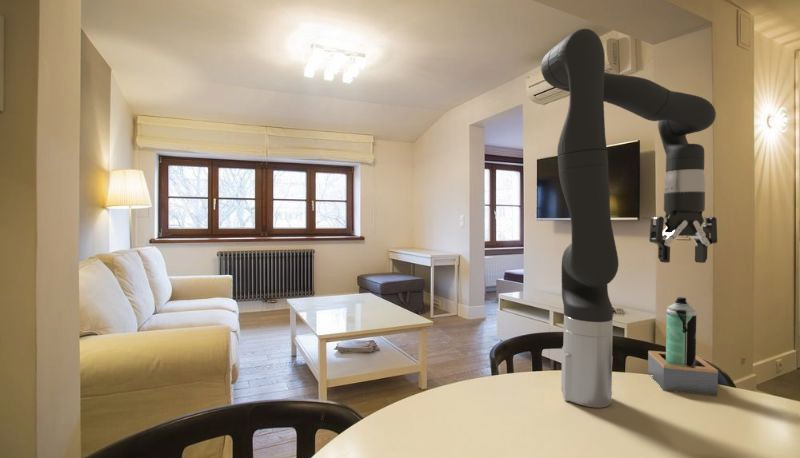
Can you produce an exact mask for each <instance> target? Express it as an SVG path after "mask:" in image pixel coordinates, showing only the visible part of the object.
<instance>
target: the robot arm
mask: <svg viewBox="0 0 800 458" xmlns="http://www.w3.org/2000/svg"><path fill="white" fill-rule="evenodd" d="M605 58H606V57H605V49H604V45H603V43H602V40H601V38H600V37H599V35H598V34H597V33H596V32H595V31H594V30H592V29H590V28H580V29H578V30H576V31H573V32H572V33H570V34H569V35H568V36H566V37H565V38H564V39H563V40H561V41H560V42H558V43H557V44H556V45H555V46H553V47H552V48H551V49H550V50H549V51H548V52H547V53H546V54H544V57H542V61H541V65H540V67H541V68H540V69H541V71H540V72H541V75H542V76H543V79H544V80H545V82H546V83H547V84H549V85H550V86H552V87H553V88H556V89H558V90H561V91H565V92H568V93H569V103H568V109H567V113H566V117H565V120H564V124H563V126H562V129H561V132H560V136H559V138H558V139H559V140H558V143H557V150H556V151H557V165H558V167H557V168H558V174H559V175H558V176H559V182H560V187H561V191H562V193H563V196H564V199H565V203H566V205H567V209H568V212H569V217H570V223H571V224H570V226H571V243H570V244H569V245H568V246H567V247H566V248H565V250H564V251H563V254H562V258H561V299H562V304H563V342H562V344H563V346H561V377H560V378H561V382H560V383H561V385H560V388H561V392H562V395H563V398H564V401H565V402H567V401H568V402H571V403H574V404H577V405H580V406H583V407H589V408H599V409H600V408H607V407H608V406H610V405H611V404H612V395H613V390H612V389H613V388H612V387H613V386H612V385H613V327H614V325H613V320H614V319H613V317H614V316H613V315H614V308H613V305H612V302H611V299H610V297H609V292H608V288H609V287H608V284H609V283H611V282H612V281H613V280H614V278H616V275H617V273H618V271H619V256H618V250H617V245H616V241H615V235H614V230H613V226H612V219H611V202H610V201H611V200H610V199H611V198H610V195H611V194H610V181H609V179H610V177H609V160H608V147H607V139H606V127H605V124H606V123H605V105H604V102H605V103H608V104H611V105H613V106H616V107H619V108H621V109H623V110H624V111H628V112H631V114H634V115H635V116H638V117H640V118H642V119H645V120H647V121H651V122H657V123H658V124H657V127H658V129H657V130H658V133H659V136H660V140H661V143H662V147H663V149H664V152H665V177H664V184H663V211H664V213H665V216H651V218H650V227H649V228H650V229H649V239H648V240H649V242H650V243H652V244H656V245H657V247H658V249H657V252H658V254H657V258H658V260H659V262H661V263H664V264H665V263H667V264H669V263H670V261H671V246H670V245H671V243H672V242H673V241H674V240H675V239H677V237H684V236H687V237H689V238H690V239H691V240H692V241H693V242H694V243H695V246H694V262H695V263H701V264H704V263H706V262H707V259H708V247H710V245H712V244H716V243H718V228H717V227H718V226H717V217H715V216H705V217H703V212H704V211H705V209H706V176H705V148H704V146H703V145H701V144H700V143H699V144H698V143H689V142H688V140H687V135H690V134H694V133H699V132H702V131H704V130H706V129H709V127H711V126H712V125H713V123H714V122H715V121H716V117H717V116H716V115H717V112H716V109H715V107H714V105H713V104H712V103H711V102H710V101H709V100H708V99H706V98H703V97H701V96H698V95H695V94H689V93H685V92H679V91H673V90H670V89H668V88H666V87H664V86H662V85H660V84H658V83H656V82H654V81H652V80H650V79H647V78H644V77H639V76H633V75H626V74H625V75H624V74H615V73H609V72H605V69H606V68H605V66H606V63H605V62H606V60H605ZM701 226H702V227H701ZM664 227H665V228H664Z"/></svg>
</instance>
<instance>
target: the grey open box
mask: <svg viewBox="0 0 800 458" xmlns="http://www.w3.org/2000/svg"><path fill="white" fill-rule="evenodd" d="M647 354H648V355H647V356H648V357H647V360H648V361H647V374H648V375H649V376H650V375H653V376H652V377H653V378H654V379H653V378H652V377H651V378H652V379H653V381H654V382H655V381H656V382H657V383H658V384H659V385H660V386H659V385H658V384H657V383H656V382H655V383H656V384H657V385H658V386H659V388H661V390H662V391H665V390H668V391H667V392H673V391H677V392H676V393H682V392H683V394H684V393H685V394H693V395H700V396H701V395H702V396H709V397H718V392H719V391H718V390H719V389H718V388H719V387H718V386H719V385H718V384H719V382H718V381H719V369H717V368H715V366H713V365H711V364H710V363H708V362H707V361H706V360H705V359H703V358H701V356H700V355H697V354H696V362H695V366H690V365H679V364H669V363H668V362H667V361H666V351H658V350H648V351H647Z"/></svg>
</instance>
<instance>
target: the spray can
mask: <svg viewBox="0 0 800 458" xmlns="http://www.w3.org/2000/svg"><path fill="white" fill-rule="evenodd" d="M665 325H666V329H665V330H666V331H665V333H666V335H665V352H666V361H667V362H668V363H669V364H679V365H690V366H695V362H696V355H697V354H696V352H697V351H696V350H697V348H696V347H697V310H696V308H694V307H693V306H691V305H690V303H688V302H687V298H686V297H683V296H679V297H677V298H676V300H675V301H674V302H673V304H670V305H668V306H667V309H666V324H665Z"/></svg>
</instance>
